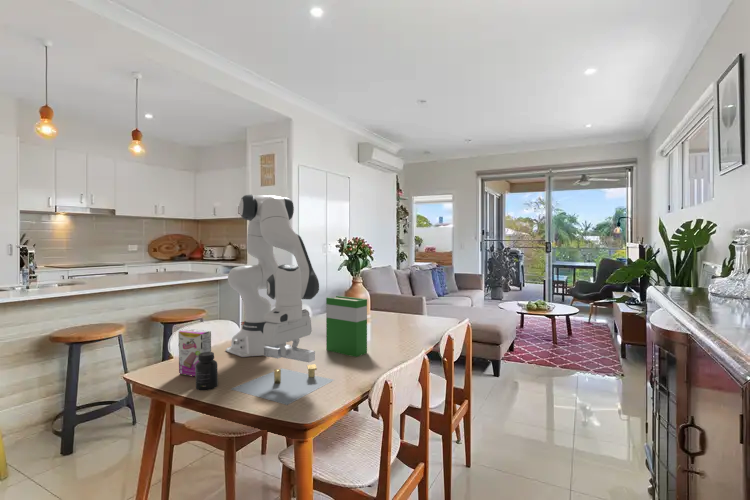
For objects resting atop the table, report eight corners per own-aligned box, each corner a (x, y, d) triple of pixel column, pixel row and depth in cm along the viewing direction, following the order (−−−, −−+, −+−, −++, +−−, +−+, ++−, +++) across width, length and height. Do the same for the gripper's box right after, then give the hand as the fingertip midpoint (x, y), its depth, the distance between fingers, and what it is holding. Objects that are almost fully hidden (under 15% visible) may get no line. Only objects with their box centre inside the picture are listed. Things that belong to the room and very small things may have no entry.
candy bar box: (178, 375, 144) (177, 331, 143) (188, 370, 148) (188, 328, 148) (202, 378, 140) (201, 333, 139) (212, 374, 145) (211, 330, 144)
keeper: (308, 380, 136) (308, 368, 136) (307, 376, 140) (307, 364, 140) (316, 379, 136) (316, 368, 136) (315, 375, 141) (315, 364, 141)
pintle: (272, 383, 133) (272, 370, 133) (277, 381, 135) (277, 368, 135) (277, 384, 132) (277, 371, 132) (282, 382, 134) (282, 369, 134)
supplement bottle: (200, 385, 133) (199, 350, 133) (220, 385, 134) (220, 350, 133) (192, 393, 126) (191, 356, 126) (213, 392, 127) (213, 356, 127)
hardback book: (326, 350, 176) (326, 297, 176) (337, 346, 182) (337, 295, 182) (356, 357, 166) (356, 301, 165) (367, 353, 172) (367, 299, 171)
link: (318, 358, 129) (318, 349, 129) (305, 363, 123) (305, 354, 123) (277, 351, 138) (277, 342, 138) (264, 355, 132) (263, 347, 132)
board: (230, 391, 128) (230, 388, 128) (281, 370, 149) (281, 368, 149) (287, 407, 116) (287, 404, 116) (334, 382, 136) (334, 379, 136)
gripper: (301, 307, 141) (302, 345, 141) (259, 317, 123) (260, 360, 124) (315, 309, 138) (315, 347, 138) (274, 319, 120) (274, 363, 120)
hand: (289, 353), depth 131 cm, fingers closed on link, 3 cm apart
